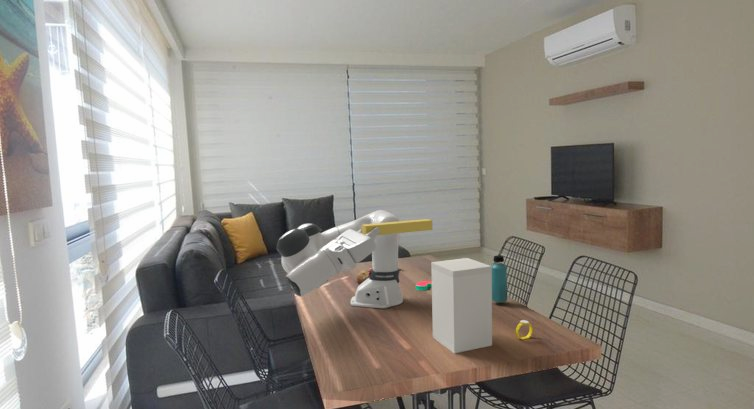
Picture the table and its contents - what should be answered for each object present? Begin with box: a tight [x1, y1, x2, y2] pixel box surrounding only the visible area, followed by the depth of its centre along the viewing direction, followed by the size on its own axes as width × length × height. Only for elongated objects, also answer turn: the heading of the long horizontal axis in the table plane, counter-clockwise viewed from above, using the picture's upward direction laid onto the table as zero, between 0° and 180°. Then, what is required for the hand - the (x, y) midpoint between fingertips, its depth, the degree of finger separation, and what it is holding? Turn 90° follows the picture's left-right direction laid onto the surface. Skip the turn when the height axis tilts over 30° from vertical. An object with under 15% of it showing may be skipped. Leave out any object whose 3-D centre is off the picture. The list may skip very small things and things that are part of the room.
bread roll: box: [356, 269, 369, 285], centre depth 224 cm, size 10×10×8 cm
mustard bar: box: [362, 218, 433, 235], centre depth 136 cm, size 22×4×3 cm, turn 111°
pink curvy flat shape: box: [415, 280, 432, 291], centre depth 214 cm, size 20×16×2 cm
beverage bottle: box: [491, 255, 508, 303], centre depth 184 cm, size 6×7×20 cm
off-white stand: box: [430, 257, 493, 354], centre depth 147 cm, size 14×14×26 cm
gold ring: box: [515, 319, 534, 341], centre depth 148 cm, size 6×3×6 cm, turn 111°
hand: (375, 227), depth 134 cm, fingers closed on mustard bar, 3 cm apart
